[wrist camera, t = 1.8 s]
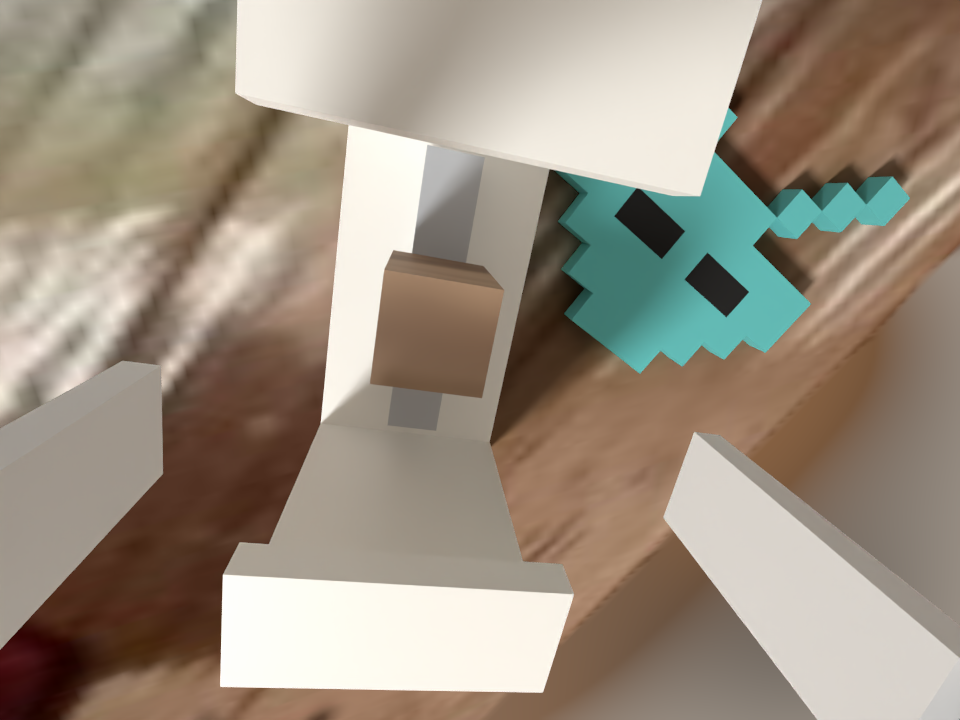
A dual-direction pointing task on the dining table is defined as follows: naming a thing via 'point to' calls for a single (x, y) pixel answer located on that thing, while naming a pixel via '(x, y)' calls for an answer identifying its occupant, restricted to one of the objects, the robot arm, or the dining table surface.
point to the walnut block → (435, 325)
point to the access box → (464, 238)
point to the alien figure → (697, 260)
